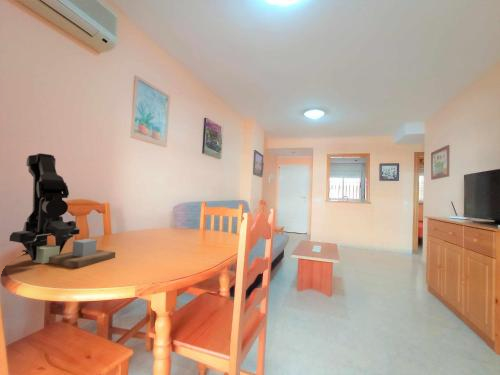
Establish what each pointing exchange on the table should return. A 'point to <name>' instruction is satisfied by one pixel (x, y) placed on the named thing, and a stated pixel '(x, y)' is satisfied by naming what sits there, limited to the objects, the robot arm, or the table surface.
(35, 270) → the table surface
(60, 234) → the robot arm
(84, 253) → the slate block
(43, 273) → the table surface
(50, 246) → the sage block
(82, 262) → the walnut base
